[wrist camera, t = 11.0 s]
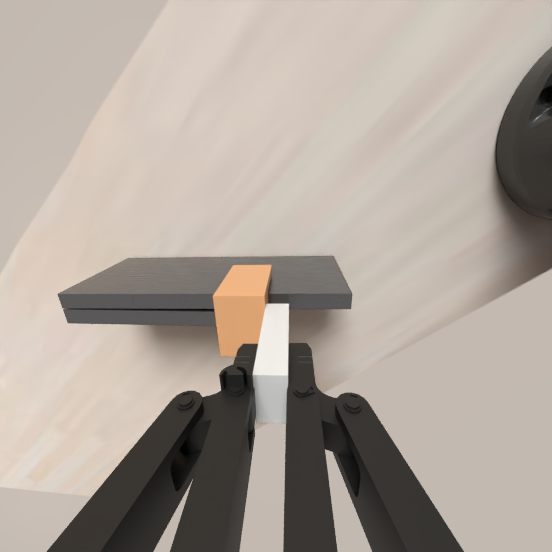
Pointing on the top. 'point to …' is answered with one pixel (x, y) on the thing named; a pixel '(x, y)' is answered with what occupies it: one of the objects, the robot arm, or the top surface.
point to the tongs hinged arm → (141, 316)
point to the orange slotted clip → (241, 306)
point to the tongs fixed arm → (208, 283)
